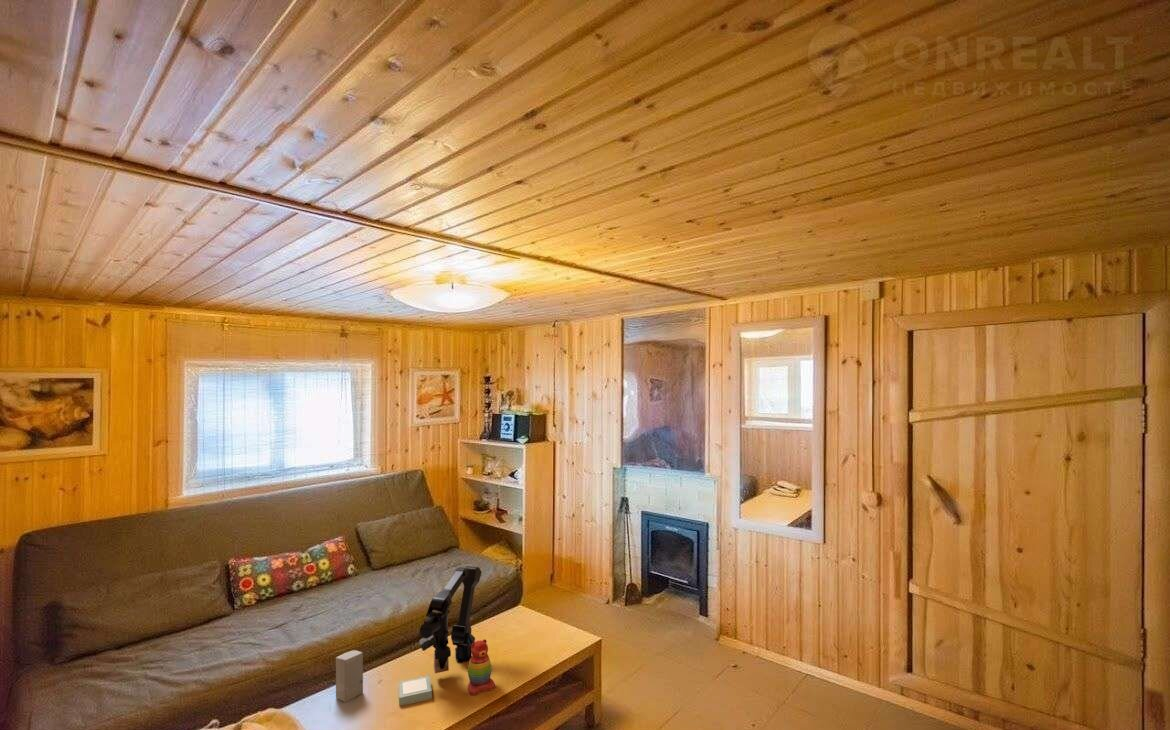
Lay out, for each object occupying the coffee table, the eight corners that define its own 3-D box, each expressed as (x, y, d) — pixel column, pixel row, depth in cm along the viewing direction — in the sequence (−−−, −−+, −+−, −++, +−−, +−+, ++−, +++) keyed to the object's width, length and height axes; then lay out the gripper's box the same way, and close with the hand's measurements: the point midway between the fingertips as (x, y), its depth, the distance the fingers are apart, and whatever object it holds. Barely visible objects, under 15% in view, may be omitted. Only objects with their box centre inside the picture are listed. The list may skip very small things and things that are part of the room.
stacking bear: (470, 696, 206) (469, 650, 207) (463, 684, 215) (463, 639, 216) (497, 688, 211) (496, 643, 212) (489, 677, 220) (488, 633, 221)
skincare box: (345, 703, 204) (345, 661, 205) (334, 698, 208) (334, 657, 208) (364, 692, 211) (364, 652, 212) (353, 687, 215) (353, 647, 216)
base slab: (429, 683, 217) (429, 675, 217) (431, 698, 205) (431, 690, 205) (398, 689, 212) (398, 681, 212) (399, 705, 201) (399, 697, 201)
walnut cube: (447, 664, 224) (447, 651, 224) (448, 670, 219) (448, 657, 219) (433, 667, 222) (433, 653, 222) (434, 673, 217) (434, 659, 217)
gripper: (419, 622, 227) (419, 659, 226) (422, 640, 210) (422, 681, 209) (445, 617, 231) (446, 654, 230) (450, 635, 213) (451, 675, 213)
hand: (441, 665), depth 220 cm, fingers closed on walnut cube, 5 cm apart
